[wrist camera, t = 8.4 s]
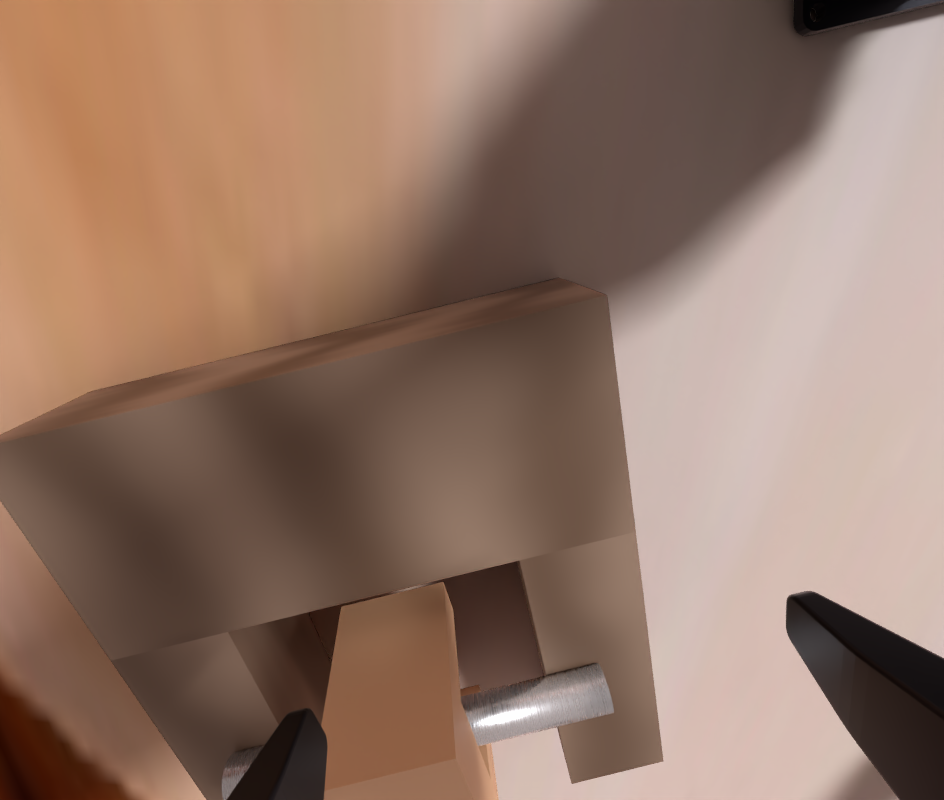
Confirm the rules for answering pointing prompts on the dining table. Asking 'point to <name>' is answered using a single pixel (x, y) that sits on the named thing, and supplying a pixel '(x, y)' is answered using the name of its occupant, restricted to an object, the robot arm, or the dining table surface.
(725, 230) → the dining table surface
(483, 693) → the metal rod
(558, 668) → the u-shaped stone cradle
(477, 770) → the wooden building block
